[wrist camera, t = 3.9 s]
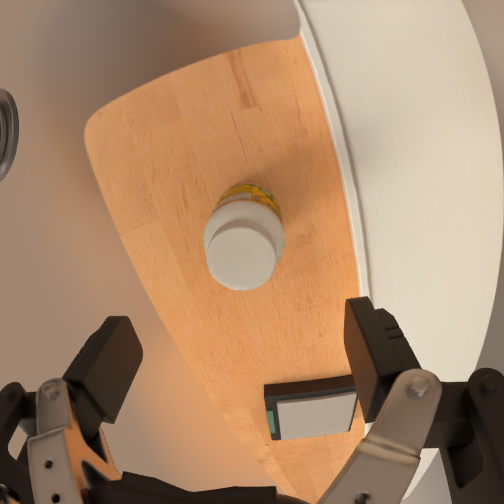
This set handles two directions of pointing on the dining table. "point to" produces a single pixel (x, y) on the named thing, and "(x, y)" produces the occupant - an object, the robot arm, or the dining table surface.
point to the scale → (310, 407)
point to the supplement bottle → (244, 237)
